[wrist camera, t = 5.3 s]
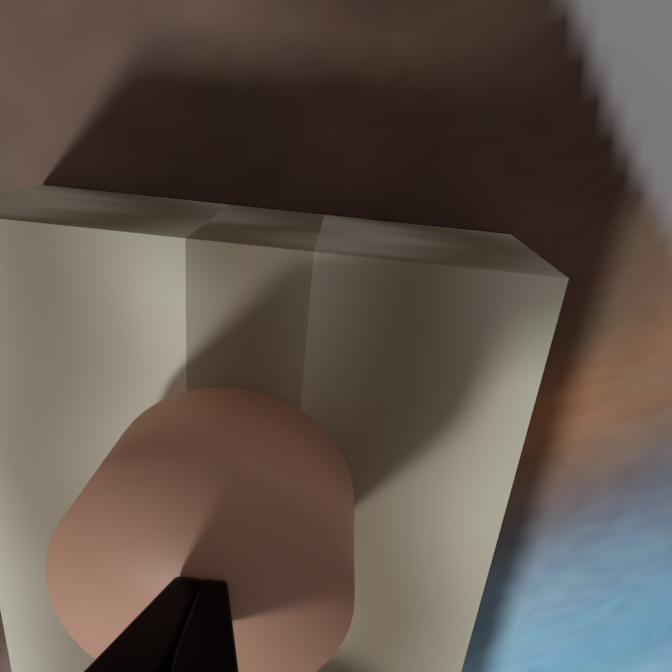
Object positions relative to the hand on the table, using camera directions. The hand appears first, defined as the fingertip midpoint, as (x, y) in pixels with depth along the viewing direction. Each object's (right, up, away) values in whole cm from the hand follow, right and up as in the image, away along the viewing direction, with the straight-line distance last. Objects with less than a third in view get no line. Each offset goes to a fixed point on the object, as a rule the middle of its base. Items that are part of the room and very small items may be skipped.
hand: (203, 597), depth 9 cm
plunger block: (0, -2, +9) cm, 9 cm away
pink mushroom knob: (0, +2, +6) cm, 6 cm away
